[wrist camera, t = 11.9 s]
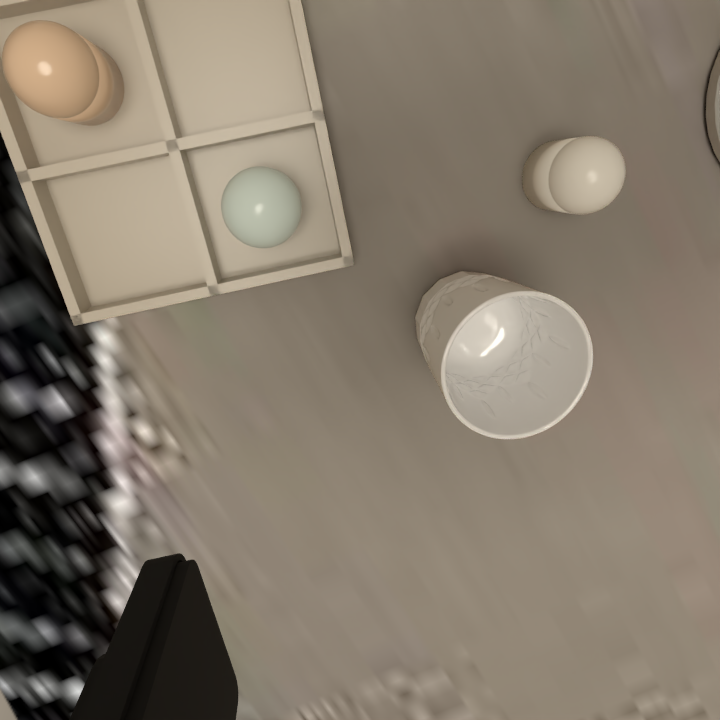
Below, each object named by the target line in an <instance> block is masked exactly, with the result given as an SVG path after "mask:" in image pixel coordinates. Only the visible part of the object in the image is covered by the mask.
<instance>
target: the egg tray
mask: <svg viewBox="0 0 720 720" xmlns="http://www.w3.org/2000/svg"><path fill="white" fill-rule="evenodd" d="M35 20H47V21H53V22H56V23H59V24H62V25H64V26H66V27H68V28H70V29H72V30H73V31H75V32H76V33H78V34H79V35H81V36H83V37H84V38H86V39H87V40H89V41H90V42H92V43H94V44H95V45H97V46H98V47H100V48H101V49H103V50H104V51H105V52H107V53H108V54H109V55H110V56H111V57H112V59H113V60H114V61H115V62H116V64H117V66H118V67H119V69H120V72H121V74H122V77H123V81H124V99H123V102H122V105H121V107H120V109H119V111H118V112H117V113H116V115H115V116H114V117H113V118H112V119H110V120H109V121H107V122H105V123H103V124H100V125H94V126H86V125H81V124H76V123H72V122H68V121H64V120H60V119H56V118H52V117H48V116H45V115H42V114H40V113H38V112H36V111H34V110H32V109H31V108H29V107H28V106H27V105H25V104H24V103H23V102H22V101H21V100H20V99H19V98H18V97H17V96H16V95H15V93H14V92H13V91H12V89H11V88H10V86H9V84H8V82H7V80H6V78H5V75H4V72H3V67H2V51H3V47H4V44H5V41H6V39H7V38H8V36H9V35H10V33H11V32H12V31H13V30H14V29H15V28H17V27H18V26H20V25H22V24H24V23H26V22H30V21H35ZM0 131H1V134H2V136H3V139H4V142H5V144H6V147H7V150H8V152H9V155H10V158H11V160H12V163H13V165H14V168H15V171H16V173H17V176H18V179H19V181H20V184H21V187H22V189H23V192H24V195H25V197H26V200H27V202H28V205H29V208H30V210H31V213H32V216H33V218H34V221H35V224H36V226H37V229H38V232H39V234H40V237H41V239H42V242H43V245H44V247H45V250H46V253H47V255H48V258H49V261H50V263H51V266H52V269H53V271H54V274H55V276H56V279H57V282H58V284H59V287H60V290H61V292H62V295H63V298H64V300H65V303H66V306H67V308H68V311H69V313H70V316H71V319H72V321H73V324H74V326H75V325H80V324H85V323H89V322H94V321H98V320H103V319H108V318H112V317H117V316H122V315H126V314H131V313H135V312H140V311H145V310H149V309H154V308H158V307H163V306H168V305H172V304H177V303H182V302H186V301H191V300H195V299H200V298H205V297H209V296H214V295H218V294H223V293H228V292H232V291H237V290H242V289H246V288H251V287H255V286H260V285H265V284H269V283H274V282H278V281H283V280H288V279H292V278H297V277H301V276H306V275H311V274H315V273H320V272H325V271H329V270H334V269H338V268H343V267H348V266H352V265H354V260H353V255H352V250H351V245H350V240H349V235H348V230H347V226H346V221H345V216H344V211H343V206H342V201H341V196H340V191H339V186H338V181H337V176H336V171H335V166H334V161H333V156H332V152H331V147H330V142H329V137H328V132H327V127H326V122H325V117H324V112H323V107H322V102H321V97H320V92H319V87H318V82H317V77H316V73H315V68H314V63H313V58H312V53H311V48H310V43H309V38H308V33H307V28H306V23H305V18H304V13H303V8H302V3H301V0H0ZM255 166H264V167H269V168H273V169H276V170H279V171H281V172H283V173H284V174H286V175H287V176H288V177H289V178H290V179H291V180H292V181H293V182H294V183H295V185H296V187H297V188H298V191H299V193H300V197H301V204H302V212H301V219H300V222H299V225H298V227H297V229H296V231H295V232H294V233H293V235H292V236H291V237H290V238H289V239H288V240H286V241H285V242H283V243H282V244H280V245H278V246H275V247H271V248H255V247H251V246H248V245H246V244H244V243H242V242H241V241H239V240H238V239H237V238H236V237H234V236H233V235H232V233H231V232H230V231H229V229H228V228H227V226H226V224H225V222H224V219H223V216H222V211H221V200H222V195H223V192H224V189H225V187H226V185H227V184H228V182H229V181H230V180H231V179H232V177H234V176H235V175H236V174H237V173H239V172H240V171H242V170H244V169H246V168H250V167H255Z"/></svg>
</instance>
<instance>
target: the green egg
mask: <svg viewBox="0 0 720 720" xmlns="http://www.w3.org/2000/svg"><path fill="white" fill-rule="evenodd" d="M221 211H222V216H223V219H224V222H225V224H226V226H227V228H228V229H229V231H230V232H231V233H232V235H233V236H234V237H236V238H237V239H238V240H239V241H241V242H242V243H244V244H246V245H248V246H251V247H255V248H271V247H275V246H278V245H280V244H282V243H283V242H285V241H286V240H288V239H289V238H290V237H291V236H292V235H293V233H294V232H295V231H296V229H297V227H298V225H299V222H300V219H301V212H302V204H301V197H300V193H299V191H298V188H297V187H296V185H295V183H294V182H293V181H292V180H291V179H290V178H289V177H288V176H287V175H286V174H284V173H283V172H281V171H279V170H276V169H273V168H269V167H264V166H255V167H250V168H246V169H244V170H242V171H240V172H239V173H237V174H236V175H235V176H234V177H232V179H231V180H230V181H229V182H228V184H227V185H226V187H225V189H224V192H223V195H222V200H221Z"/></svg>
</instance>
